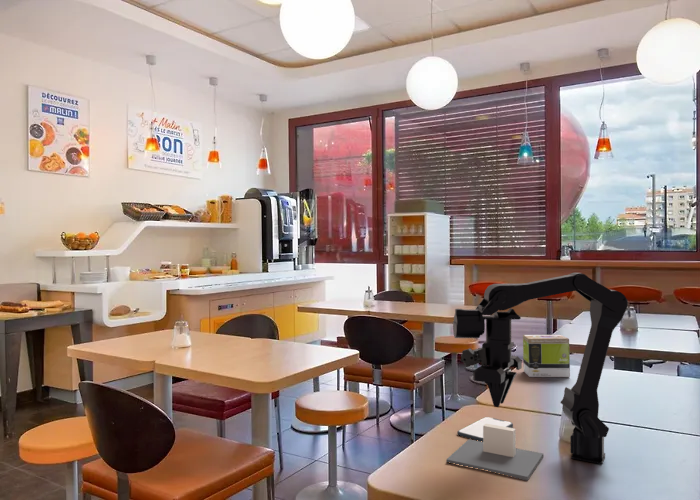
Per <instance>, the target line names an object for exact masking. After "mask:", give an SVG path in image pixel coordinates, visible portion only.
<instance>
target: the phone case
mask: <svg viewBox="0 0 700 500" xmlns="http://www.w3.org/2000/svg"><path fill="white" fill-rule="evenodd" d="M485 424H492V425H497V426H503V427H509V428H514V424H513V422H511V421H508V420H502V419H498V418H495V417H490V416H485V417H483V418H481V419H478V420H477V421H474V422H472V423H471V424H469V425H467V426H465V427H463V428H460V429H459V430H457V433H456V434H458V435H460V436H459V437H461V436H463V437H462V438H465V437H467V438H466V439H468V438H471V439H470V440H472V439H474V440H475V441H476V440H478V441H482V442H483V426H484V425H485ZM458 435H457V436H458Z"/></svg>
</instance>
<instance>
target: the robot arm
mask: <svg viewBox="0 0 700 500" xmlns="http://www.w3.org/2000/svg"><path fill="white" fill-rule="evenodd" d="M571 292H576V293H578V294H579V295H580V296H581V297H583V299H586V300H587V301H588V302H590V304H589V314H590V323H591V324H590V325H591V326H590V329H589V332H588V336H587V341H586V344H585V348H584V352H583V356H582V360H581V363H580V367H579V371H578V374H577V379H576V382H575V384H574V385H572V387H571V388H569V387H567V386H566V387H565V388H564V390H563V398H562V400H561V401H560V404H561V405H562V412H563V414H564V415H565V417H567V419H568V420H570V424H571V425H572V426H574V428H573V429H572V433H571V434H570V446H569V447H570V448H569V449H570V454H571V456H570V457H571V459H572V460H577V461H583V462H589V463H594V464H599V465H602V464H603V462H604V460H605V458H606V453H605V438H606V437H607V436H608V432H609V430H610V428H609V427H608V426H607V425H606V424H605V423H604V422H603V421H602V420H601V419H600V418H599V408H600V404H599V403H600V402H599V396H598V395H599V394H598V388H599V385H600V381H601V380H600V379H601V376H602V373H603V369H604V366H605V363H606V358H607V355H608V350H609V346H610V344H611V343H610V342H611V339H612V336H613V332H614V330H615V329H616V327H617V326H618V325H619V324H620V323H621V322H622V320H623V317H624V316H625V313H626V311H627V309H628V304H629V302H628V299H627V297H626V296H625V294H624V293H623V292H621V291H619V290H615V289H609V288H608V287H606V286H604V285H602V284H601V283H599V282H597V281H595V280H593V279H591V278H590V277H589V276H588V275H586V274H585V273H583V272H572V273H569V274H566V275H560V276H554V277H550V278H545V279H540V280H535V281H529V282H525V283H493V284H490V285H488V286H487V288H486V289H485V290H484V295H483V298H482V299H481V301H480V302H479V303H478V305H477V306H476V307H475V309H465V308H464V309H463V308H455V309H454V317H453V321H452V330H453V337H454V339H480V337H481V336H483V335H484V334H485V342H482V344H481V345H482V346H481V347H479V348H476V349H472V348H471V347H470V348H467V349H464V350H462V351H461V352H462V353H461V355H460V362H461V363H463V364H464V367H465V368H469V367H471V366H473V365H477V364H480V363H481V365H480V366H478V367H476V369H475V370H474V371H473V372H472V374H473V375H472V376H473V381H474V382H482V383H485V384H486V385H487V388H488V391H489V394H490V398H491V401H492V404H493V407H494V408H499V407H500V406H501V404H504V403H505V400H506V399H507V395H508V393H509V391H510V389H511V386H512V385H513V382H514V381H515V378H516V376H517V374H518V373H517V372H516V371H511V370H512V369H511V368H515V369H516V370H518V371H519V370H521V369H522V365H523V363H522V362H523V361H522V359H521V358H520V357H519V356H518V355H512V348H514V346H515V344H514V341H512V320H515V321H516V320H517V321H519V320H521V316H520V315H518V314H517V312H516V311H515V309H513V308H514V307H518V306H519V305H521V304H523V303H525V302H528V301H530V300H535V299H539V298H545V297H550V296H555V295H561V294H566V293H571ZM506 310H507V311H506Z"/></svg>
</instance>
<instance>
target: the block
mask: <svg viewBox="0 0 700 500" xmlns="http://www.w3.org/2000/svg"><path fill="white" fill-rule="evenodd" d="M516 431H517V430H516V428H514V427H513V428H509V427H503V426H497V425H492V424H485V425H484V426H483V451H484V452H489V453H494V454H499V455H504V456H509V457H514V456H515V455H516V447H517V446H516V444H517V443H516V441H517V440H516V439H517V437H516V436H517V435H516V434H517V433H516Z"/></svg>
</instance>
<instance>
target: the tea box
mask: <svg viewBox="0 0 700 500" xmlns="http://www.w3.org/2000/svg"><path fill="white" fill-rule="evenodd" d="M522 348H523V349H522V352H523V353H522V355H523V356H522V359H523V361H522V362H523V363H522V365H523V372H524V374H526V375H527V376H528V377H529V378H570V377H571V365H570V364H571V363H570V361H571V360H570V357H571V356H570V353H571V352H570V339H569V338H568V337H566V336H564V335H563V334H523V335H522Z"/></svg>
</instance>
